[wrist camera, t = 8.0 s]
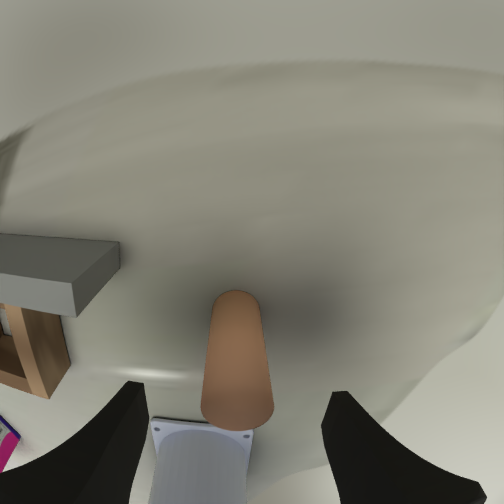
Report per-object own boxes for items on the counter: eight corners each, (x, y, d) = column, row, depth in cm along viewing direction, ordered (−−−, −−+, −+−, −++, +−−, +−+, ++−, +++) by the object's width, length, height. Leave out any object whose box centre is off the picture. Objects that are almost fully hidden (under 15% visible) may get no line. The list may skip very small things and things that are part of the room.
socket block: (70, 365, 19) (49, 399, 16) (-3, 345, 19) (-28, 371, 15) (50, 264, 17) (17, 289, 13) (-25, 255, 16) (-59, 273, 13)
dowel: (257, 332, 19) (269, 431, 11) (211, 330, 19) (201, 429, 11) (261, 291, 18) (278, 384, 11) (213, 288, 18) (200, 381, 10)
